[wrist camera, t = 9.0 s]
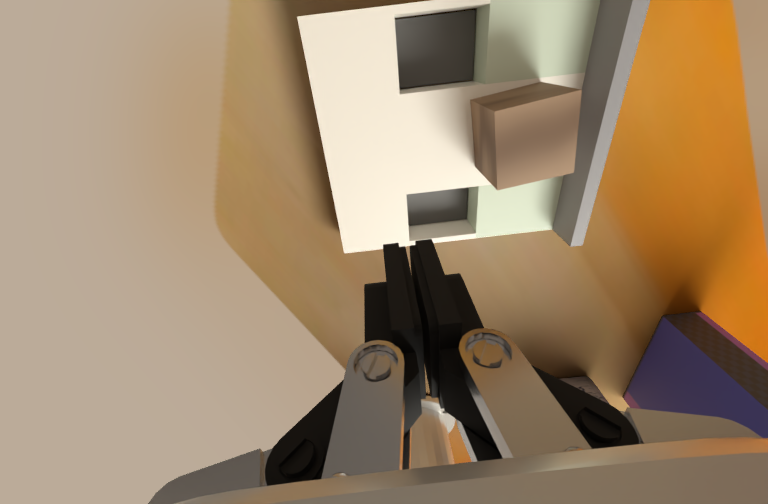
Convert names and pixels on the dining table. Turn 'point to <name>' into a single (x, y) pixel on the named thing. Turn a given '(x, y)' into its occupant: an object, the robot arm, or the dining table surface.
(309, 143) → the dining table surface
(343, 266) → the dining table surface
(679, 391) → the blue rectangular box
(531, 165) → the block
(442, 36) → the tray
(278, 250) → the dining table surface
